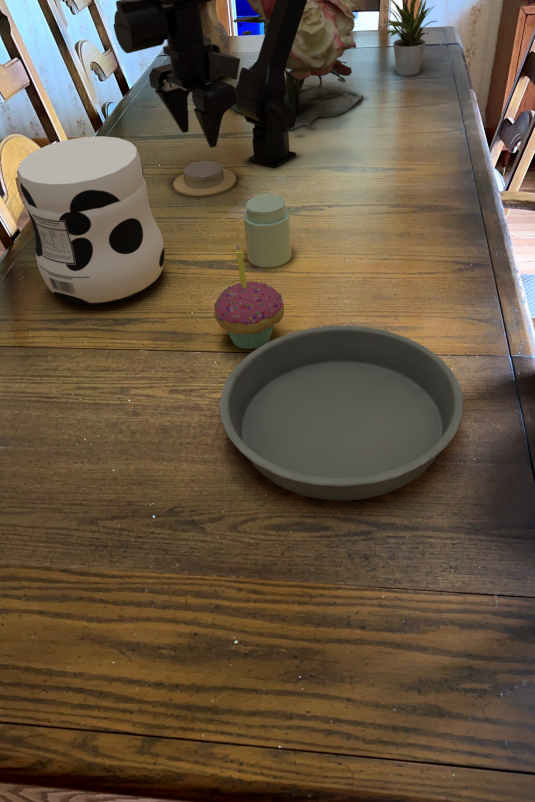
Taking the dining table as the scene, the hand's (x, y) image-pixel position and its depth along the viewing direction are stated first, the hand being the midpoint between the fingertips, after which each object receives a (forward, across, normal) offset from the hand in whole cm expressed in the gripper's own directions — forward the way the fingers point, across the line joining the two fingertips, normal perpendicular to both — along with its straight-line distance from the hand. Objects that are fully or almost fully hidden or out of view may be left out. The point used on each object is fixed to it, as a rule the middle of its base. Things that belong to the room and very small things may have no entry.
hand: (198, 139), depth 120 cm
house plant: (+8, +20, -66) cm, 69 cm away
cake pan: (+8, -63, +21) cm, 67 cm away
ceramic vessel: (+8, +50, -33) cm, 60 cm away
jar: (+8, -29, +6) cm, 30 cm away
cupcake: (+8, -44, +20) cm, 49 cm away
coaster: (+8, 0, 0) cm, 8 cm away
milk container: (+8, -19, +28) cm, 35 cm away
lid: (+6, 0, 0) cm, 6 cm away
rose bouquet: (+8, +20, -36) cm, 42 cm away
